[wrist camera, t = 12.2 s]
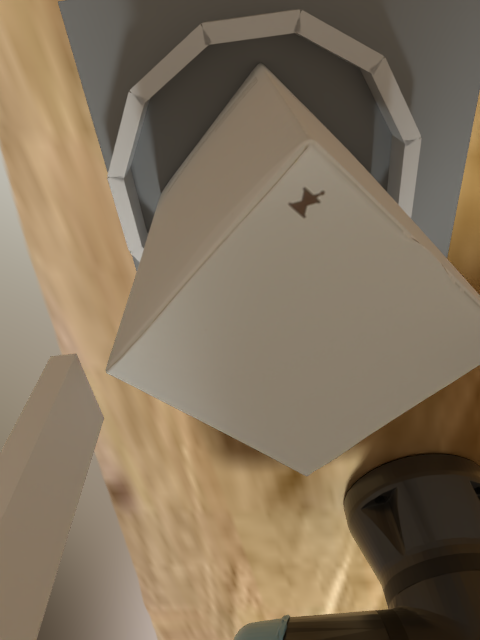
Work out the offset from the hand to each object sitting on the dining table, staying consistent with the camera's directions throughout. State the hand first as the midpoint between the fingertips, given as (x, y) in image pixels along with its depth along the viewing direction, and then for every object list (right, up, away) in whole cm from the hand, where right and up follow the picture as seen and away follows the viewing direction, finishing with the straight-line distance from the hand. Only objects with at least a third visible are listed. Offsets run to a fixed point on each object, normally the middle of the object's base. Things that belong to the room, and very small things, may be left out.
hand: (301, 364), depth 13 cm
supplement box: (0, +9, +12) cm, 15 cm away
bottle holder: (+1, +10, +13) cm, 16 cm away
